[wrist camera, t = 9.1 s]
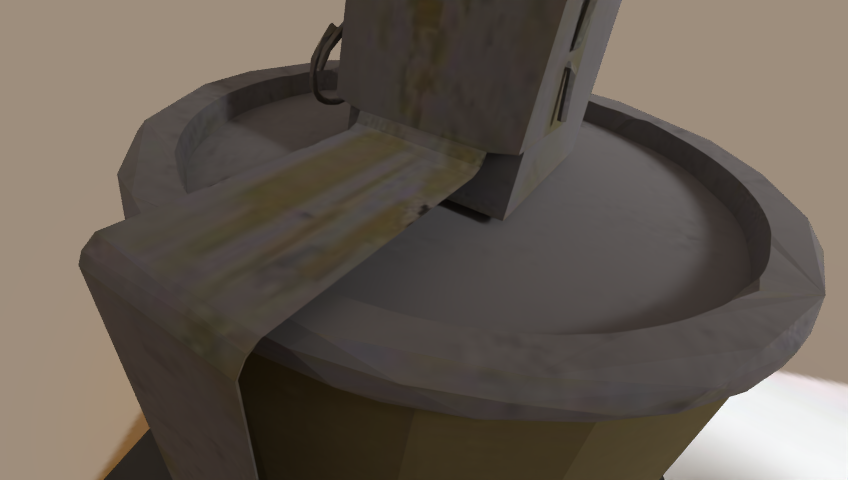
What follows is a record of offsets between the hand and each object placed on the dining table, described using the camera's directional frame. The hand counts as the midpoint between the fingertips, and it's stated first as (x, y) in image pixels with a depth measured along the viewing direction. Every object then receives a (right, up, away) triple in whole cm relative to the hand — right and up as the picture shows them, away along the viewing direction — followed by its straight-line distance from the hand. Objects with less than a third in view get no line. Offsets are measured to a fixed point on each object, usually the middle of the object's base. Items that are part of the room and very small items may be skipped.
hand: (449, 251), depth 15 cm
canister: (-2, -12, +2) cm, 12 cm away
